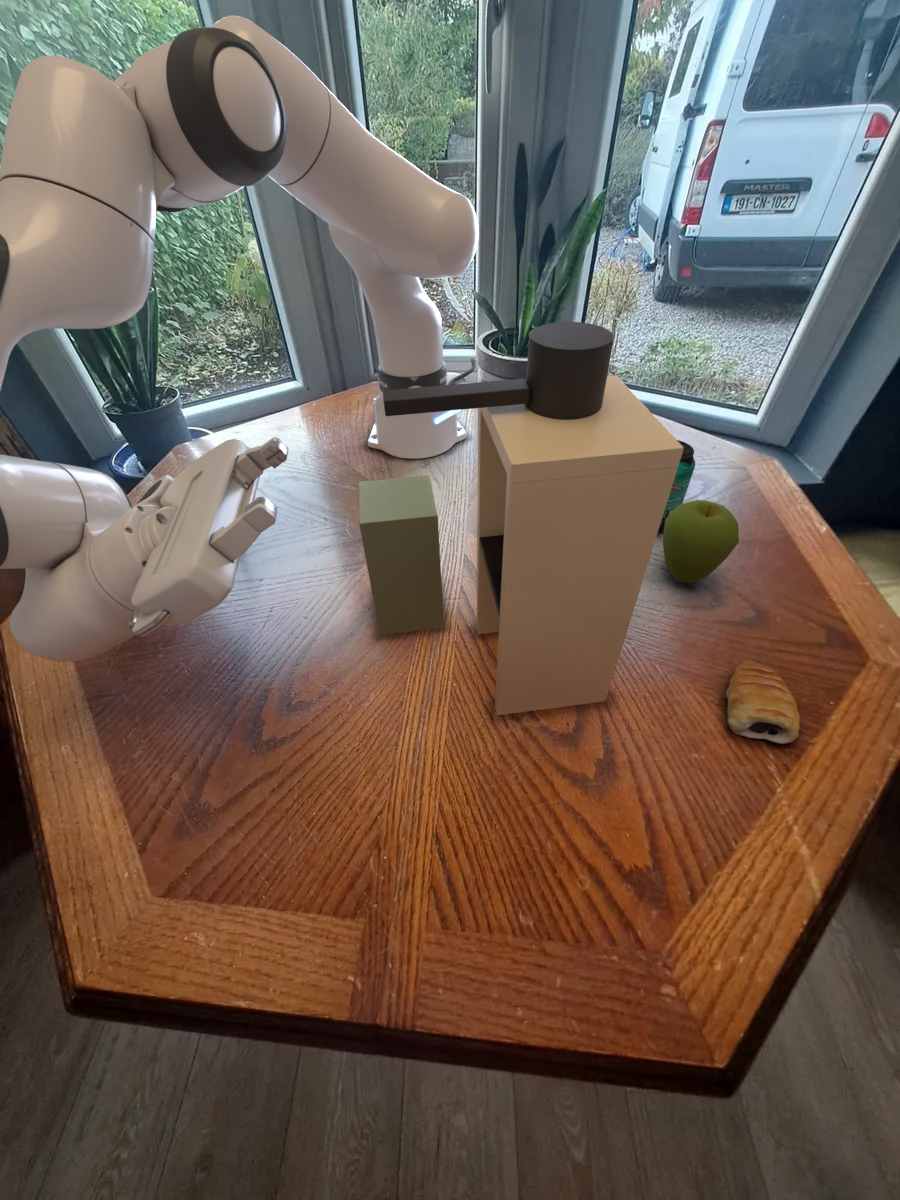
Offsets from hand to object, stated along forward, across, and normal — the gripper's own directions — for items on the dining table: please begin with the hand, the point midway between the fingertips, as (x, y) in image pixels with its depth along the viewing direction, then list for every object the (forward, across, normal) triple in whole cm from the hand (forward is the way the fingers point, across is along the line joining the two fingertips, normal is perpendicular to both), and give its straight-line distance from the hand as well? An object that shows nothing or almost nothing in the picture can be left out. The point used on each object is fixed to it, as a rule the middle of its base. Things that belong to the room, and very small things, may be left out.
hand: (277, 474), depth 42 cm
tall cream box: (+7, -2, +34) cm, 35 cm away
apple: (+27, +9, +46) cm, 54 cm away
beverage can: (+28, +22, +46) cm, 58 cm away
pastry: (+25, -12, +45) cm, 53 cm away
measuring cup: (+17, 0, +6) cm, 18 cm away
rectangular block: (-5, +9, +27) cm, 29 cm away
